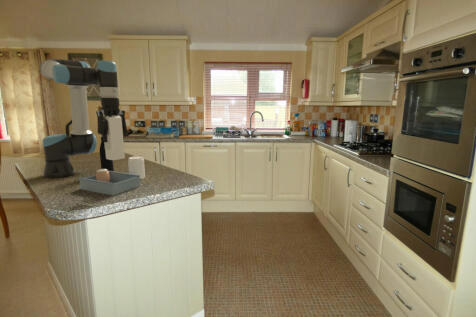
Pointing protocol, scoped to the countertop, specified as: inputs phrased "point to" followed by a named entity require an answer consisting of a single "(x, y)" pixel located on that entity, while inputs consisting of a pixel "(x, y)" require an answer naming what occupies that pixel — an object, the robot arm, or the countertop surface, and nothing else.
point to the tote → (111, 183)
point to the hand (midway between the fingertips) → (114, 148)
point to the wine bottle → (105, 162)
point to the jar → (102, 175)
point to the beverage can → (136, 166)
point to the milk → (115, 138)
